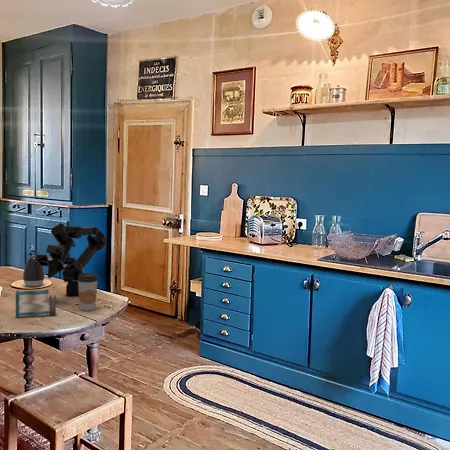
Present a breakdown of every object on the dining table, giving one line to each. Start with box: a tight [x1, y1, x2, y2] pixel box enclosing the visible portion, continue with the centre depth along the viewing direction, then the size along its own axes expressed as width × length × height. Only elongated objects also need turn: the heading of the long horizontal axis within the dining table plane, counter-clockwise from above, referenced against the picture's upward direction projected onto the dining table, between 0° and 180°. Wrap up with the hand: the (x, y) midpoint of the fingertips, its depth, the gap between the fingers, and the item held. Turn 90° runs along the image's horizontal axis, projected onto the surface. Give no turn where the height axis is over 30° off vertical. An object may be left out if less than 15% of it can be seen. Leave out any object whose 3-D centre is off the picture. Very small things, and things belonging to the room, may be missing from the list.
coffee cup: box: [78, 272, 99, 312], centre depth 202 cm, size 8×8×15 cm
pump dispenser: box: [22, 255, 46, 287], centre depth 236 cm, size 10×10×15 cm
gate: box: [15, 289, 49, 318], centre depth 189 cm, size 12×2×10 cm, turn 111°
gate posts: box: [49, 294, 57, 317], centre depth 194 cm, size 18×2×8 cm, turn 76°
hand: (48, 277), depth 203 cm, fingers closed
